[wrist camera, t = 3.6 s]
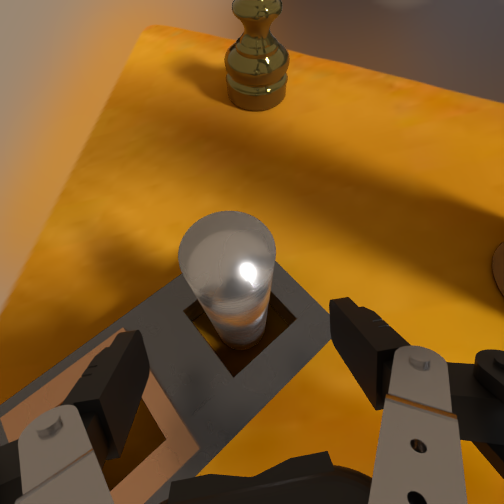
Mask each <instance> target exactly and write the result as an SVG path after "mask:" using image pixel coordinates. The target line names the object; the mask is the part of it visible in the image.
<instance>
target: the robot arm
mask: <svg viewBox="0 0 504 504" xmlns="http://www.w3.org/2000/svg"><path fill="white" fill-rule="evenodd" d="M492 268H493V273H494V278H495V280H496V283H497V285H498V287H499V289H500V291H501V292H502V294H503V296H504V242H503V243H501V245H500V246H499V247H498V248H497V249H496V251H495V254H494V256H493V264H492ZM329 310H330V333H331V339H332V342H333V344H334V346H335V348H336V350H337V351H338V353H339V354H340V356H341V357H342V359H343V360H344V362H345V364H346V365H347V367H348V368H349V370H350V371H351V373H352V374H353V376H354V378H355V379H356V381H357V382H358V384H359V385H360V387H361V388H362V390H363V391H364V393H365V395H366V396H367V398H368V399H369V401H370V402H371V404H372V405H373V407H374V409H375V410H381V409H384V410H383V416H382V422H381V428H380V434H379V441H378V447H377V453H376V459H375V465H374V471H373V478H371V477H369V476H367V475H365V474H363V473H361V472H359V471H356V470H353V469H350V468H347V467H342V466H336V465H333V464H332V462H331V459H330V456H329V454H328V451H325V452H320V453H315V454H310V455H305V456H299V457H294V458H290V459H288V460H286V461H284V462H282V463H280V464H278V465H276V466H274V467H272V468H270V469H268V470H266V471H264V472H262V473H260V474H258V475H256V476H254V477H239V476H228V475H217V474H208V475H203V476H198V477H192V478H187V479H182V480H177V481H172V482H171V485H170V491H169V497H168V499H166V500H164V501H162V502H161V503H159V504H467V496H466V487H465V479H464V470H463V461H462V453H461V444H460V440H467V441H472V443H473V444H474V445H475V446H476V447H477V448H478V450H479V451H480V452H481V453H482V454H483V455H484V457H485V458H486V459H487V460H488V461H489V462H490V464H491V465H492V466H493V467H494V468H495V469H496V471H497V472H498V473H499V474H500V475H501V476H502V478H503V479H504V351H501V350H482V351H480V352H478V353H477V354H476V357H475V364H465V363H450V362H446V361H445V360H444V358H443V357H441V356H440V355H439V354H437V353H436V352H434V351H432V350H430V349H427V348H424V347H420V346H411V345H410V344H409V343H408V342H407V341H406V340H405V339H403V338H402V337H401V336H400V335H399V334H398V333H397V332H396V331H395V330H394V329H393V328H391V327H390V326H389V325H388V324H387V323H386V322H385V321H384V320H382V318H381V317H380V316H378V315H377V314H376V313H375V312H374V311H372V310H369V309H367V308H365V307H358V306H357V305H356V304H355V303H354V302H353V301H352V300H351V299H350V298H349V297H345V298H339V299H332V300H330V303H329ZM149 373H150V364H149V359H148V356H147V352H146V348H145V345H144V341H143V337H142V334H141V332H140V331H139V330H133V331H127V332H120V333H118V334H117V336H116V337H115V339H114V340H113V342H112V344H111V345H110V347H105V348H104V349H103V350H102V351H101V352H99V353H98V354H97V355H96V356H95V357H94V358H93V359H92V361H91V362H90V364H89V365H88V367H87V369H85V371H84V372H83V374H82V377H80V378H79V380H78V381H77V382H76V384H75V385H74V387H73V388H72V390H71V391H70V393H69V394H68V395H67V397H66V398H65V400H64V401H63V403H62V404H61V406H58V407H55V408H53V409H50V410H48V411H46V412H45V413H43V414H41V415H40V416H38V417H37V418H36V419H34V420H33V421H32V422H31V423H30V424H29V425H28V426H27V427H26V428H25V429H24V430H23V432H22V433H21V435H20V437H19V439H17V440H15V441H12V442H10V443H7V444H5V445H2V446H0V504H114V501H113V499H112V496H111V494H110V491H109V489H108V486H107V483H106V481H105V478H104V476H103V473H102V471H101V470H102V467H103V465H104V463H105V460H109V459H115V458H120V456H121V453H122V451H123V448H124V445H125V442H126V439H127V437H128V434H129V431H130V428H131V426H132V423H133V420H134V417H135V414H136V412H137V409H138V406H139V403H140V400H141V398H142V395H143V392H144V389H145V386H146V384H147V381H148V378H149Z"/></svg>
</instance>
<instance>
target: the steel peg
mask: <svg viewBox="0 0 504 504" xmlns="http://www.w3.org/2000/svg"><path fill="white" fill-rule="evenodd" d="M275 256H276V247H275V242H274V239H273V236H272V234H271V233H270V231H269V230H268V228H267V227H266V226H265V225H264V224H263V223H262V222H261V221H260V220H258V219H257V218H255V217H253V216H251V215H249V214H246V213H242V212H238V211H221V212H216V213H213V214H210V215H207V216H205V217H203V218H201V219H200V220H198V221H197V222H196V223H194V224H193V225H192V226H191V227H190V228H189V229H188V231H187V232H186V233H185V235H184V236H183V238H182V241H181V243H180V246H179V252H178V260H179V266H180V269H181V271H182V273H183V275H184V277H185V279H186V280H187V282H188V284H189V285H190V287H191V289H192V290H193V292H194V294H195V296H196V297H197V299H198V301H199V302H200V304H201V306H202V307H203V309H204V311H205V312H206V314H207V316H208V317H209V319H210V321H211V322H212V324H213V326H214V328H215V329H216V331H217V333H218V334H219V336H220V338H221V339H222V341H223V342H224V343H225V344H226V345H227V346H229V347H230V348H233V349H236V350H246V349H249V348H252V347H254V346H255V345H256V344H257V343H258V342H259V341H260V340H261V339H262V337H263V334H264V331H265V325H266V318H267V312H268V305H269V298H270V291H271V284H272V277H273V271H274V264H275Z"/></svg>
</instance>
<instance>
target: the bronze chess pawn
mask: <svg viewBox="0 0 504 504" xmlns="http://www.w3.org/2000/svg"><path fill="white" fill-rule="evenodd" d="M232 11H233V14H234V15H235V16H236V17H237V18H238V19H240V20H241V22H242V23H243V25H244V32H243V34H242V35H241V37H239V38H238V39H237V41H236V43H234V44H233V45H232V46H230V47H229V49H228V50H227V52H226V54H225V58H224V63H225V67H226V70H227V72H228V73H227V75H226V82H227V89H228V96H229V99H230V100H231V101H232V102H233V103H234V104H235V105H237V106H238V107H240V108H243V109H246V110H252V111H261V110H267V109H270V108H273V107H275V106H277V105H278V104H279V103H281V102H282V100H283V99H284V97H285V94H286V83H287V80H288V76H287V73H286V72H287V69H288V66H289V60H290V59H289V54H288V52H287V50H286V48H285V47H284V46H283V45H282V44H280V43H279V42H278V41H277V39H276V38H275V37H274V36H273V35H272V34H271V32H270V25H271V23H272V22H273V21H274V19H275V18H277V17H278V16H279V15H280V13H281V11H282V2H281V0H234V1H233V3H232Z"/></svg>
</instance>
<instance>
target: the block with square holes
mask: <svg viewBox="0 0 504 504" xmlns="http://www.w3.org/2000/svg"><path fill="white" fill-rule="evenodd" d="M269 304H270V306H271V307H272V308H273V309H274V310H275V311H276V312H277V313H278V314H279V315H280V316H281V317H282V319H283V320H284V321H285V322H286V323H287V324H288V325H289V327H288V328H287V329H286V330H285V331H284V332H282V333H281V334H280V335H279V336H278V337H277V338H276V339H275V340H274V341H273V342H272V343H271V344H270V345H268V346H267V347H266V348H265V349H264V350H263V351H262V352H261V353H260V354H259V355H258V356H257V357H256V358H254V359H253V360H252V361H251V362H250V363H249V364H248V365H247V366H246V367H245V368H244V369H243V370H242V371H240V372H239V373H238V374H237V375H236V376H235V377H234V376H233V375H232V374H231V373H230V371H229V370H228V369H227V367H226V366H225V365H224V363H223V362H222V361H221V359H220V358H219V357H218V355H217V354H216V353H215V351H214V350H213V349H212V347H211V346H210V345H209V343H208V342H207V341H206V339H205V338H204V337H203V336H202V334H201V333H200V332H199V330H198V329H197V328H196V326H195V325H194V324H193V322H192V321H193V320H195V319H196V318H197V317H198V316H200V315H201V314H202V313H203V312H205V311H204V309H203V307H202V306H201V304H200V302H199V301H198V299H197V297H196V296H195V294H194V292H193V290H192V289H191V287H190V285H189V284H188V282H187V280H186V279H185V277H184V275H183V273H182V274H181V275H179V276H178V277H176V278H175V279H174V280H172V281H171V282H170V283H168V284H167V285H165V286H164V287H163V288H161V289H160V290H158V291H157V292H156V293H154V294H153V295H152V296H150V297H149V298H147V299H146V300H145V301H143V302H142V303H141V304H139V305H138V306H136V307H135V308H134V309H132V310H131V311H130V312H128V313H127V314H125V315H124V316H123V317H121V318H120V319H118V320H117V321H116V322H114V323H113V324H112V325H110V326H109V327H107V328H106V329H105V330H103V331H102V332H101V333H99V334H98V335H96V336H95V337H94V338H92V339H91V340H89V341H88V342H87V343H85V344H84V345H83V346H81V347H80V348H78V349H77V350H76V351H74V352H73V353H72V354H70V355H69V356H67V357H66V358H65V359H63V360H62V361H61V362H59V363H58V364H56V365H55V366H54V367H52V368H51V369H49V370H48V371H47V372H45V373H44V374H43V375H41V376H40V377H38V378H37V379H36V380H34V381H33V382H32V383H30V384H29V385H27V386H26V387H25V388H23V389H22V390H20V391H19V392H18V393H16V394H15V395H14V396H12V397H11V398H9V399H8V400H7V401H5V402H4V403H3V404H1V405H0V446H2V445H5V444H7V443H10V442H12V441H15V440H17V439H19V437H20V435H21V433H22V432H23V430H24V429H25V428H26V427H27V426H28V425H29V424H30V423H31V422H32V421H33V420H34V419H36V418H37V417H38V416H40V415H41V414H43V413H45V412H46V411H48V410H50V409H53V408H55V407H58V406H61V404H62V403H63V401H64V400H65V398H66V397H67V395H68V394H69V393H70V391H71V390H72V388H73V387H74V385H75V384H76V382H77V381H78V380H79V378H80V377H82V374H83V372H84V371H85V369H87V367H88V365H89V364H90V362H91V361H92V359H93V358H94V357H95V356H96V355H97V354H98V353H99V352H101V351H102V350H103V349H104V348H105V347H110V345H111V344H112V342H113V340H114V339H115V337H116V336H117V334H118V333H120V332H127V331H133V330H139V331H140V332H141V334H142V337H143V341H144V345H145V348H146V352H147V356H148V359H149V364H150V373H149V378H148V381H147V384H146V386H145V389H144V392H143V395H142V399H143V401H144V402H145V404H146V406H147V407H148V409H149V411H150V412H151V414H152V416H153V417H154V419H155V421H156V423H157V424H158V426H159V428H160V429H161V431H162V433H163V434H164V436H165V438H166V440H165V441H164V442H163V443H162V444H161V445H160V446H159V447H158V448H157V449H156V450H154V451H153V452H152V453H151V454H150V455H149V456H148V457H147V458H146V459H145V460H144V461H143V462H142V463H140V464H139V465H138V466H137V467H136V468H135V469H134V470H133V471H132V472H131V473H130V474H129V475H127V476H126V477H125V478H124V479H123V480H122V481H121V482H120V483H119V484H118V485H117V486H116V487H115V488H113V489H112V490H111V491H110V494H111V496H112V499H113V501H114V504H159V503H161V502H162V501H164V500H166V499H168V497H169V491H170V485H171V482H172V481H177V480H182V479H187V478H192V477H195V476H196V475H197V474H198V473H199V472H200V471H201V470H202V469H203V468H204V467H205V466H206V465H207V464H208V463H209V462H210V461H211V460H212V459H213V458H214V457H215V456H216V455H217V454H218V453H219V452H220V451H221V450H222V449H223V448H224V447H225V446H226V445H227V444H228V443H229V442H230V441H231V440H232V439H233V438H234V437H235V436H236V435H237V434H238V433H239V432H240V431H241V430H242V429H243V427H244V426H245V425H246V424H247V423H248V422H249V421H250V420H251V419H252V418H253V417H254V416H255V415H256V414H257V413H258V412H259V411H260V410H261V409H262V408H263V407H264V406H265V405H266V404H267V403H268V402H269V401H270V400H271V399H272V398H273V397H274V396H275V395H276V394H277V393H278V392H279V391H280V390H281V389H282V388H283V387H284V386H285V385H286V384H287V383H288V382H289V381H290V380H291V379H292V378H293V377H294V376H295V375H296V374H297V373H298V372H299V371H300V370H301V369H302V368H303V367H304V366H305V365H306V364H307V363H308V362H309V361H310V360H311V359H312V358H313V357H314V356H315V355H316V354H317V353H318V352H319V351H320V350H321V349H322V348H323V347H324V345H325V344H326V343H327V342H328V341H329V340H330V339H331V333H330V314H329V313H327V312H326V311H325V310H324V309H323V308H322V307H321V306H320V305H319V304H318V303H317V302H316V301H315V300H314V299H313V298H312V297H311V296H310V295H309V294H308V293H307V292H306V291H305V290H304V289H303V288H302V287H301V286H300V285H299V284H298V283H297V282H296V281H295V280H294V279H293V278H292V277H291V276H290V275H289V274H288V273H287V272H286V271H285V270H284V269H283V268H282V267H281V266H280V265H279V264H278V263H277V262H276V261H275V264H274V271H273V277H272V284H271V291H270V298H269Z"/></svg>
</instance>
